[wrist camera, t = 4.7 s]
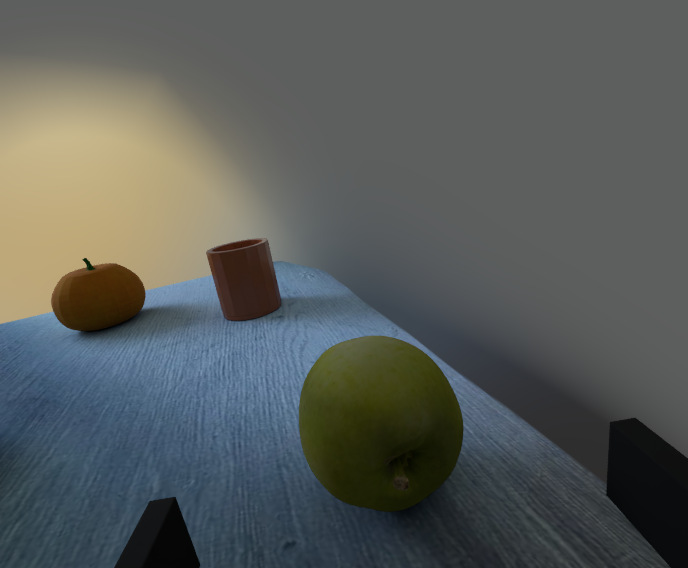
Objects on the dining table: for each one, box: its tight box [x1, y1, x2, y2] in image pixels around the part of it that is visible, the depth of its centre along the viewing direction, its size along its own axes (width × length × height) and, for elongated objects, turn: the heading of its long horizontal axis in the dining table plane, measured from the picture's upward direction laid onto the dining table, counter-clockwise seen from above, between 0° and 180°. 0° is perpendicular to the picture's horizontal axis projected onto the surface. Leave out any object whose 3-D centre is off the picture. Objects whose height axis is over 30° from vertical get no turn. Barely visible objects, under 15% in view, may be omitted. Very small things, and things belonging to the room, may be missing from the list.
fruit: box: [51, 258, 145, 331], centre depth 55 cm, size 12×12×10 cm
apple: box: [299, 336, 463, 512], centre depth 18 cm, size 8×9×8 cm
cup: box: [206, 238, 281, 321], centre depth 50 cm, size 8×8×9 cm
